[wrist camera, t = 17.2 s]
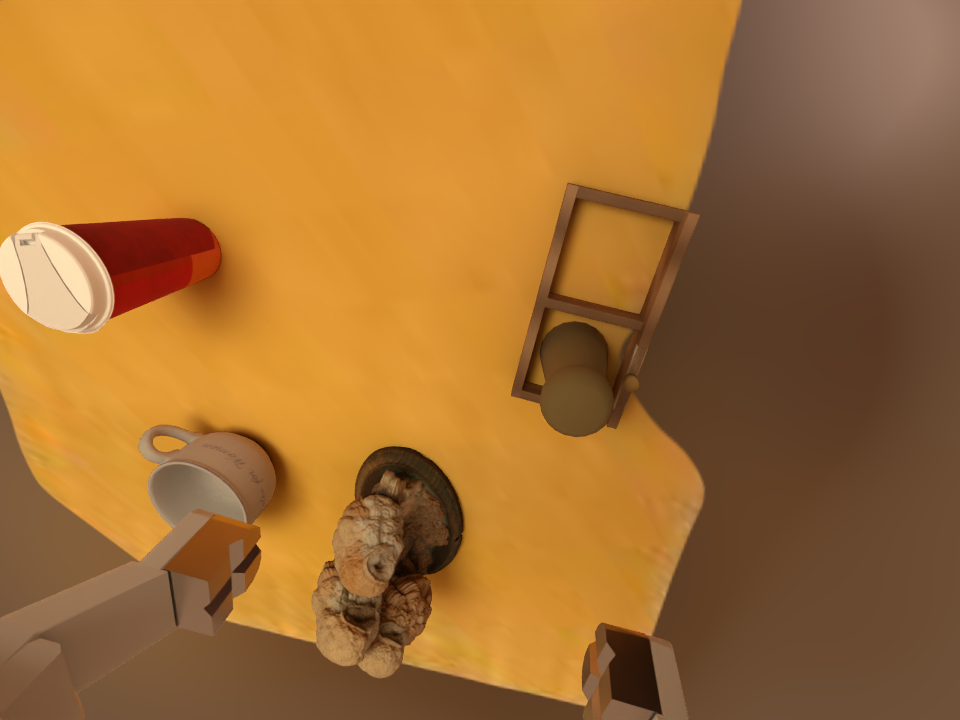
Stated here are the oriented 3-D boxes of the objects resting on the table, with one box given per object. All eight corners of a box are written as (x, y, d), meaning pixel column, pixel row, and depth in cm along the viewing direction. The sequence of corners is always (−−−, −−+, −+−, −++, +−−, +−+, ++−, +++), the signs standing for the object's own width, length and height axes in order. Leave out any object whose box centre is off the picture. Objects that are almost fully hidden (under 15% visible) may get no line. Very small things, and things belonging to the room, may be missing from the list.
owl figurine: (479, 570, 54) (446, 735, 39) (386, 573, 57) (320, 728, 41) (442, 439, 48) (384, 573, 32) (339, 449, 51) (240, 577, 35)
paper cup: (144, 208, 43) (-30, 227, 30) (218, 203, 42) (68, 221, 29) (171, 291, 46) (22, 340, 33) (241, 289, 45) (114, 339, 32)
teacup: (306, 485, 53) (266, 536, 46) (236, 508, 56) (187, 559, 49) (236, 382, 49) (180, 420, 42) (165, 412, 52) (101, 453, 45)
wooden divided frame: (567, 182, 37) (568, 185, 33) (692, 211, 36) (706, 217, 32) (512, 386, 44) (508, 406, 40) (614, 412, 44) (619, 435, 40)
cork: (606, 384, 43) (619, 452, 33) (539, 383, 44) (532, 448, 34) (610, 321, 40) (626, 373, 30) (539, 321, 41) (532, 371, 31)
